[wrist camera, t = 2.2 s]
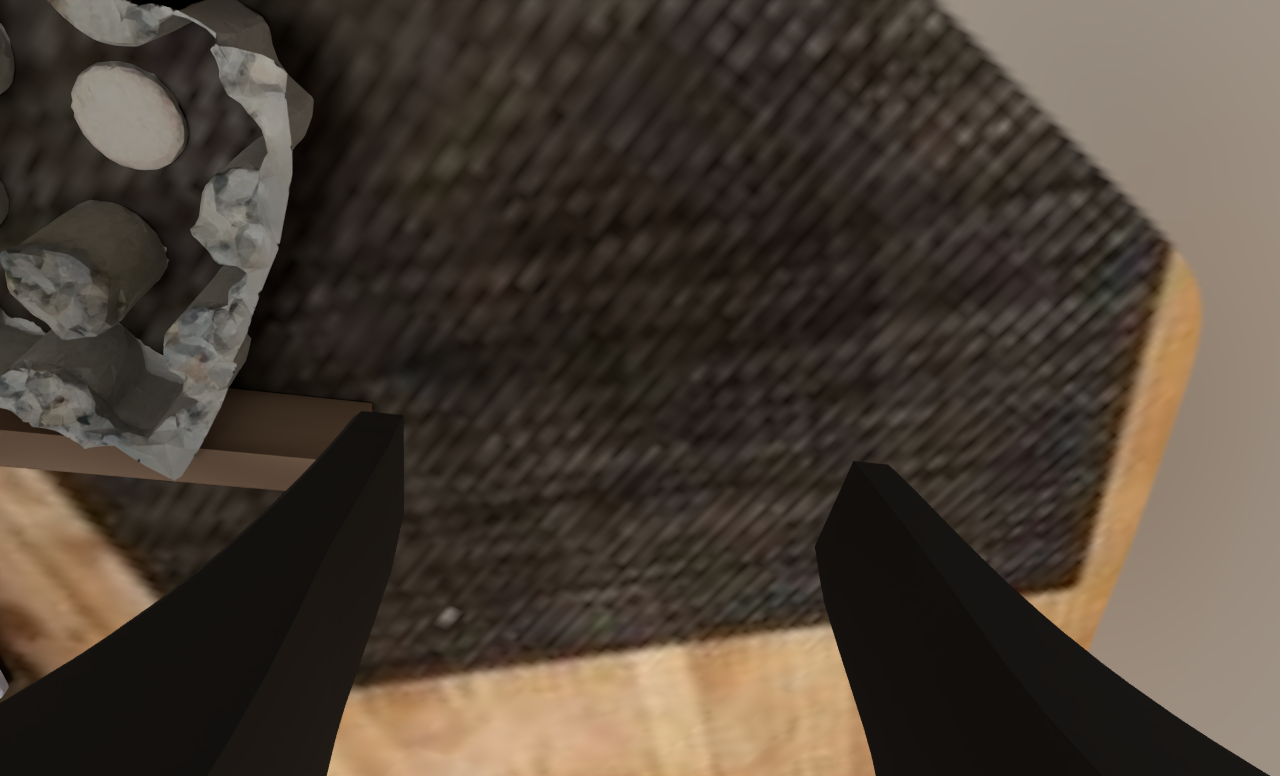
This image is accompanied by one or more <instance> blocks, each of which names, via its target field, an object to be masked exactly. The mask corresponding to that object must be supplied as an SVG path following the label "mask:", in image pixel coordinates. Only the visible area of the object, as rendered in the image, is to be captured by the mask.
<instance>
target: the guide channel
mask: <svg viewBox="0 0 1280 776" xmlns="http://www.w3.org/2000/svg"><path fill="white" fill-rule="evenodd" d="M361 411H366V412H372V403H365V402H356V401H346V400H337V399H327V398H318V397H308V396H299V395H289V394H280V393H270V392H261V391H251V390H242V389H232V388H228V390H227V393H226V396H225V398H224V401H223V403H222V406H221V408H220V410H219V412H218V413H217V415H216V417H215V419H214V421H213V423H212V425H211V427H210V429H209V431H208V433H207V435H206V437H205V439H204V441H203V443H202V444H201V446H200V448H199V450H198V452H197V453H196V455H195V456H194V458H193V459H192V461H191V462H190V464H189V466H188V467H187V469H186V470H185V472H184V473H183V475H182V476H181V477H179V478H178V479H176V480H175V481H178V482H189V483H201V484H212V485H224V486H236V487H247V488H259V489H270V490H282V491H286V490H287V489H288V488H289V487H290V486H291V485H292V484H293V483H294V482H295V481H296V480H297V479H298V478H299V477H300V476H301V475H302V474H303V473H304V472H305V471H306V470H307V469H308V468H309V467H310V466H311V465H312V463H313V462H314V461H315V460H316V459H317V458H318V457H319V456H320V455H321V454H322V453H323V452H324V451H325V449H326V448H327V447H328V446H329V445H330V444H331V443H332V442H333V440H334V439H335V438H336V437H337V436H338V435H339V434H340V432H341V431H342V430H343V429H344V428H345V427H346V425H347V424H348V423H349V422H350V421H351V419H352V418H353V417H354V416H355V415H357V414H358V413H360V412H361ZM0 466H5V467H17V468H28V469H40V470H51V471H63V472H74V473H86V474H97V475H109V476H120V477H132V478H143V479H155V480H166V481H174V480H172V479H170V478H168V477H166V476H164V475H162V474H160V473H158V472H156V471H154V470H152V469H150V468H148V467H146V466H145V465H143V464H141V463H140V462H138V461H136V460H135V459H133V458H132V457H130V456H129V455H127V454H126V453H124V452H123V451H121V450H120V449H119V448H117V447H116V446H99V447H92V448H87V449H84V448H83V447H82V446H81V445H80V444H79V443H77V442H75V441H73V440H71V439H70V438H68V437H66V436H64V435H63V434H61V433H59V432H58V431H55V430H50V429H46V428H38V427H32V426H31V425H30V423H29V422H23V421H22V419H21V418H19V417H18V416H17V415H16V414H15V413H13V412H12V411H10V410H8V409H3V408H0Z"/></svg>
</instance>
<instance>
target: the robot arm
mask: <svg viewBox="0 0 1280 776" xmlns="http://www.w3.org/2000/svg"><path fill="white" fill-rule="evenodd" d="M403 513H404V420H403V415H396V414H386V413H376V412H366V411H361V412H360V413H358V414H357V415H355V416H354V417H353V418H352V419H351V421H350V422H349V423H348V424H347V425H346V427H345V428H344V429H343V430H342V431H341V432H340V434H339V435H338V436H337V437H336V438H335V439H334V440H333V442H332V443H331V444H330V445H329V446H328V447H327V448H326V449H325V451H324V452H323V453H322V454H321V455H320V456H319V457H318V458H317V459H316V460H315V461H314V462H313V463H312V465H311V466H310V467H309V468H308V469H307V470H306V471H305V472H304V473H303V474H302V475H301V476H300V477H299V478H298V479H297V480H296V481H295V482H294V483H293V484H292V485H291V486H290V487H289V488H288V489H287V490H286V491H285V492H284V493H283V494H282V495H281V496H280V497H279V498H278V499H277V500H276V501H275V502H274V503H273V504H272V505H271V506H270V507H269V508H268V509H267V510H266V511H265V512H264V513H263V514H261V515H260V516H259V517H258V518H257V519H256V520H255V521H254V522H253V523H251V524H250V525H249V526H248V527H247V528H246V529H245V530H244V531H243V532H241V533H240V534H239V535H238V536H237V537H236V538H235V539H234V540H233V541H231V542H230V543H229V544H228V545H227V546H226V547H225V548H224V549H222V550H221V551H220V552H219V553H218V554H217V555H215V556H214V557H213V558H212V559H211V560H209V561H208V562H207V563H206V564H205V565H203V566H202V567H201V568H200V569H198V570H197V571H196V572H195V573H193V574H192V575H191V576H190V577H188V578H187V579H186V580H184V581H183V582H182V583H181V584H179V585H178V586H177V587H175V588H174V589H173V590H171V591H170V592H169V593H168V594H166V595H165V596H164V597H162V598H161V599H160V600H158V601H157V602H156V603H154V604H153V605H151V606H150V607H149V608H147V609H146V610H144V611H143V612H141V613H140V614H139V615H137V616H136V617H134V618H133V619H131V620H130V621H129V622H127V623H126V624H124V625H123V626H122V627H120V628H119V629H117V630H116V631H114V632H113V633H112V634H110V635H109V636H107V637H106V638H104V639H103V640H101V641H100V642H98V643H97V644H95V645H94V646H92V647H91V648H89V649H88V650H86V651H85V652H83V653H82V654H80V655H79V656H77V657H75V658H74V659H72V660H71V661H69V662H67V663H66V664H64V665H62V666H61V667H59V668H57V669H56V670H54V671H53V672H51V673H49V674H48V675H46V676H44V677H43V678H41V679H39V680H38V681H36V682H34V683H33V684H31V685H29V686H28V687H26V688H24V689H23V690H21V691H20V692H18V693H16V694H15V695H13V696H11V697H10V698H8V699H6V700H5V701H3V702H1V703H0V776H327V772H328V768H329V764H330V760H331V755H332V751H333V747H334V743H335V739H336V735H337V732H338V728H339V725H340V722H341V718H342V715H343V712H344V708H345V705H346V702H347V699H348V696H349V693H350V690H351V688H352V685H353V682H354V679H355V676H356V673H357V670H358V667H359V664H360V661H361V658H362V656H363V653H364V650H365V647H366V644H367V641H368V638H369V635H370V632H371V629H372V626H373V624H374V621H375V618H376V615H377V612H378V609H379V606H380V603H381V600H382V597H383V594H384V591H385V588H386V585H387V582H388V579H389V576H390V573H391V569H392V565H393V560H394V556H395V551H396V547H397V542H398V537H399V532H400V528H401V523H402V518H403ZM815 550H816V557H817V563H818V570H819V576H820V582H821V587H822V592H823V598H824V603H825V606H826V610H827V613H828V617H829V620H830V623H831V626H832V630H833V633H834V636H835V639H836V643H837V646H838V649H839V652H840V655H841V658H842V661H843V665H844V668H845V671H846V674H847V677H848V680H849V683H850V687H851V690H852V693H853V696H854V699H855V702H856V705H857V708H858V712H859V715H860V718H861V721H862V724H863V727H864V730H865V734H866V738H867V741H868V745H869V749H870V752H871V756H872V760H873V765H874V769H875V774H876V776H1270V775H1268V774H1266V773H1265V772H1263V771H1261V770H1260V769H1258V768H1256V767H1255V766H1253V765H1251V764H1250V763H1248V762H1247V761H1245V760H1243V759H1242V758H1240V757H1239V756H1237V755H1235V754H1234V753H1232V752H1231V751H1229V750H1227V749H1226V748H1224V747H1222V746H1221V745H1219V744H1218V743H1216V742H1214V741H1213V740H1211V739H1210V738H1208V737H1207V736H1205V735H1204V734H1202V733H1200V732H1199V731H1197V730H1196V729H1194V728H1193V727H1191V726H1190V725H1188V724H1187V723H1185V722H1184V721H1182V720H1181V719H1179V718H1178V717H1176V716H1175V715H1173V714H1172V713H1170V712H1169V711H1168V710H1166V709H1165V708H1163V707H1162V706H1161V705H1159V704H1158V703H1156V702H1155V701H1153V700H1152V699H1151V698H1149V697H1148V696H1146V695H1145V694H1144V693H1142V692H1141V691H1139V690H1138V689H1136V688H1135V687H1134V686H1132V685H1131V684H1129V683H1128V682H1126V681H1125V680H1124V679H1122V678H1121V677H1120V676H1119V675H1117V674H1116V673H1115V672H1113V671H1112V670H1111V669H1109V668H1108V667H1107V666H1105V665H1104V664H1103V663H1101V662H1100V661H1099V660H1098V659H1096V658H1095V657H1094V656H1093V655H1091V654H1090V653H1089V652H1088V651H1086V650H1085V649H1084V648H1083V647H1081V646H1080V645H1079V644H1078V643H1076V642H1075V641H1074V640H1073V639H1071V638H1070V637H1069V636H1068V635H1066V634H1065V633H1064V632H1063V631H1061V630H1060V629H1059V628H1058V627H1057V626H1056V625H1054V624H1053V623H1052V622H1051V621H1050V620H1048V619H1047V618H1046V617H1045V616H1044V615H1043V614H1042V613H1040V612H1039V611H1038V610H1037V609H1036V608H1035V607H1034V606H1033V605H1032V604H1030V603H1029V602H1028V601H1027V600H1026V599H1025V598H1024V597H1023V596H1022V595H1020V594H1019V593H1018V592H1017V591H1016V590H1015V589H1014V588H1013V587H1012V586H1011V585H1009V584H1008V583H1007V582H1006V581H1005V580H1004V579H1003V578H1002V577H1001V576H1000V575H999V574H998V573H997V572H996V571H995V570H994V569H993V568H992V567H990V566H989V565H988V564H987V563H986V562H985V561H984V560H983V559H982V558H981V557H980V556H979V555H978V554H977V553H976V552H975V551H974V550H973V549H972V548H971V547H970V546H969V545H968V544H967V543H966V542H965V541H964V540H963V539H962V538H961V537H960V536H959V535H958V534H957V533H956V532H955V531H954V530H953V529H952V528H951V527H950V526H949V525H948V524H947V523H946V522H945V521H944V520H943V519H942V518H941V517H940V515H939V514H938V513H937V512H936V511H935V510H934V509H933V508H932V507H931V506H930V505H929V504H928V503H927V502H926V501H925V500H924V499H923V498H922V497H921V496H920V495H919V494H918V493H917V492H916V491H915V490H914V489H913V488H912V487H911V486H910V485H909V484H908V483H907V482H906V481H905V480H904V479H903V478H902V477H901V476H900V475H899V474H898V473H897V472H896V471H894V470H893V469H892V468H891V467H890V466H889V465H886V464H876V463H866V462H856V461H853V463H852V466H851V468H850V470H849V472H848V474H847V477H846V479H845V481H844V483H843V486H842V488H841V490H840V492H839V494H838V497H837V499H836V501H835V503H834V505H833V508H832V510H831V512H830V514H829V516H828V519H827V521H826V523H825V525H824V527H823V530H822V532H821V534H820V536H819V538H818V541H817V543H816V545H815ZM8 688H9V687H8V683H7V681H6V680H5V678H4V676H3V674H2V672H1V670H0V698H2V696H3V695H4V694H5V692H6V691H7V689H8Z"/></svg>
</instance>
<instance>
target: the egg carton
mask: <svg viewBox="0 0 1280 776" xmlns="http://www.w3.org/2000/svg"><path fill="white" fill-rule="evenodd" d="M47 1H48V2H49V3H50V4H51V5H52V6H53V7H54V8H55V9H56V10H57V11H58V12H59V13H60V14H61V15H62V16H63V17H64V18H65V19H66V20H68V21H69V22H70V23H71V24H72V25H74V26H75V27H76V28H77V29H79V30H80V31H82V32H83V33H84V34H86V35H88V36H89V37H91V38H93V39H94V40H97V41H100V42H103V43H107V44H112V45H117V46H140V45H142V44H145V43H147V42H150V41H152V40H155V39H157V38H160V37H162V36H165V35H167V34H169V33H171V32H173V31H175V30H177V29H180V28H181V27H183V26H185V25H187V24H189V23H191V22H195V23H197V24H199V25H200V26H202V27H204V28H206V29H207V30H208V31H209V32H210V33H211V34H212V35H213V36H214V37H215V38H216V40H215V44H214V46H213V47H212V48H211V49H210V50H211V52H212V53H213V55H214V57H215V58H216V61H217V64H218V67H219V79H220V81H221V83H222V85H223V87H224V89H225V91H226V93H227V94H228V95H229V96H230V97H232V98H233V99H235V100H236V101H238V102H239V103H241V104H242V106H243V107H244V109H245V110H246V111H247V113H248V114H249V115H250V116H251V117H252V118H253V119H254V120H255V121H256V123H257V124H258V125H259V127H260V128H261V129H262V132H263V136H261V137H259V138H258V139H256V140H255V141H254V142H253V143H251V144H250V145H249V146H248V147H247V148H246V149H245V150H243V151H242V152H241V153H240V154H239V155H238V156H236V157H235V158H234V159H233V160H232V161H231V162H230V163H229V164H228V165H226V166H225V167H224V168H223V169H222V170H221V171H220V172H218V173H217V174H216V175H215V176H214V177H213V178H212V179H211V180H210V181H209V182H208V183H207V184H206V186H205V188H204V190H203V192H202V198H201V206H200V214H199V218H198V220H197V222H196V224H195V226H193V227H192V228H191V229H190V231H191V233H192V235H193V237H195V238H196V239H197V240H198V241H199V242H200V243H201V244H202V245H203V246H204V247H205V248H206V249H207V250H208V251H209V253H210V254H211V256H212V258H213V259H214V260H215V261H216V262H217V263H218V264H223V265H224V266H223V267H221V268H220V269H219V271H218V273H217V274H216V275H215V276H214V278H213V279H212V280H211V281H210V282H209V283H208V285H207V286H206V287H205V288H204V289H203V290H202V292H201V293H200V294H199V295H198V296H197V297H196V299H195V300H194V301H193V302H192V303H191V304H190V305H189V307H188V308H187V309H186V310H185V311H184V312H183V313H182V314H181V315H180V317H179V318H178V319H177V320H176V321H175V322H174V324H173V325H172V326H171V327H170V328H169V330H168V331H167V332H166V333H165V336H164V344H163V346H164V349H163V353H164V356H163V355H161V354H159V353H157V352H155V351H154V350H152V349H151V348H150V347H148V346H145V345H143V343H142V342H141V340H139V339H137V338H136V337H134V335H133V334H132V333H130V332H129V331H128V330H127V329H126V328H125V327H123V326H122V325H121V324H120V323H118V322H120V321H121V320H122V319H123V318H124V317H125V315H126V314H127V313H128V312H129V311H130V309H131V308H132V307H133V306H134V305H135V304H136V303H137V302H138V301H139V300H140V299H141V298H142V297H143V296H144V295H145V294H146V293H147V292H148V291H149V290H150V289H151V288H152V286H153V285H154V284H155V283H156V282H157V281H159V280H160V279H161V277H162V275H163V274H164V272H165V270H166V268H167V267H168V266H167V265H168V261H169V259H168V258H167V257H166V250H167V248H166V247H164V246H163V244H162V243H161V241H160V239H159V237H158V235H157V233H156V232H155V231H154V230H153V229H152V228H151V227H150V226H149V225H148V224H147V223H146V222H145V221H144V220H143V219H142V218H141V217H140V216H138V215H137V214H136V213H134V212H132V211H130V210H128V209H127V208H125V207H123V206H121V205H119V204H116V203H112V202H107V201H97V200H88V201H85V202H83V203H80V204H78V205H77V206H75V207H73V208H72V209H70V210H69V211H67V212H66V213H64V214H63V215H61V216H60V217H58V218H57V219H55V220H54V221H52V222H51V223H50V224H48V225H47V226H45V227H44V228H42V229H41V230H39V231H38V232H37V233H35V234H34V235H32V236H31V237H29V238H28V239H26V240H25V241H24V242H22V243H21V244H19V245H17V246H14V247H11V248H8V249H6V250H4V251H2V252H1V253H0V263H1V265H2V267H3V268H4V270H5V274H6V280H7V287H8V289H9V291H10V293H11V295H13V296H14V297H15V298H16V299H17V300H18V301H19V302H20V303H21V304H22V305H23V306H24V307H25V308H26V309H28V310H29V311H30V312H31V313H32V314H33V315H34V316H36V317H38V318H40V319H41V320H43V321H44V322H46V323H47V324H48V325H49V326H50V327H51V330H50V331H49V332H47V333H44V332H43V331H42V330H41V327H38V326H37V325H36V324H34V322H29V321H28V320H26V319H22V318H17V317H16V318H10V317H8V316H7V315H6V314H5V312H4V311H3V310H2V309H1V307H0V408H3V409H8V410H10V411H12V412H13V413H15V414H16V415H17V416H18V417H19V418H21V419H22V421H23V422H29V423H30V425H31V426H32V427H38V428H46V429H50V430H55V431H58V432H59V433H61V434H63V435H64V436H66V437H68V438H70V439H71V440H73V441H75V442H77V443H79V444H80V445H81V446H82V447H83V448H84V449H87V448H92V447H99V446H116V447H117V448H119V449H120V450H121V451H123V452H124V453H126V454H127V455H129V456H130V457H132V458H133V459H135V460H136V461H138V462H140V463H141V464H143V465H145V466H146V467H148V468H150V469H152V470H154V471H156V472H158V473H160V474H162V475H164V476H166V477H168V478H170V479H172V480H174V481H175V480H176V479H178V478H179V477H181V476H182V475H183V473H184V472H185V470H186V469H187V467H188V466H189V464H190V462H191V461H192V459H193V458H194V456H195V455H196V453H197V452H198V450H199V448H200V446H201V444H202V443H203V441H204V439H205V437H206V435H207V433H208V431H209V429H210V427H211V425H212V423H213V421H214V419H215V417H216V415H217V413H218V412H219V410H220V408H221V406H222V403H223V401H224V398H225V396H226V393H227V390H228V387H229V386H230V385H231V383H232V382H233V380H234V379H235V377H236V375H237V373H238V372H239V370H240V369H241V368H242V366H243V365H244V363H245V361H246V359H247V355H248V351H249V347H250V343H251V337H250V336H249V335H248V334H247V332H248V329H249V326H250V323H251V319H252V316H253V313H254V310H255V307H256V305H257V302H258V299H259V296H260V293H261V291H262V288H263V286H264V283H265V281H266V278H267V276H268V273H269V271H270V268H271V266H272V263H273V261H274V259H275V256H276V254H277V251H278V249H279V244H280V239H281V234H282V228H283V223H284V218H285V212H286V207H287V202H288V196H289V190H290V184H291V179H292V150H293V149H294V148H295V146H296V145H297V144H298V143H299V142H300V141H301V140H302V139H303V138H304V136H305V135H306V132H307V129H308V127H309V124H310V121H311V119H312V114H313V104H314V100H313V98H312V96H311V95H310V94H308V93H307V92H306V91H305V90H304V89H303V88H302V87H301V86H300V85H299V84H298V83H296V82H295V81H294V80H293V79H292V78H291V77H290V76H289V75H288V74H287V72H286V71H285V69H284V68H283V67H282V65H281V64H280V62H279V61H278V58H277V55H276V53H275V50H274V47H273V45H272V39H271V33H270V29H269V26H268V25H267V23H266V22H265V20H264V19H263V17H262V16H261V15H259V14H257V13H255V12H254V11H252V10H250V9H249V8H247V7H245V6H244V5H243V4H241V3H240V2H239V1H237V0H204V1H201V2H198V3H194V4H191V5H189V6H188V7H186V8H184V9H181V10H176V9H172V8H169V7H166V6H162V5H159V4H145V5H136V4H131V0H47ZM14 70H15V66H14V56H13V53H12V50H11V45H10V39H9V37H8V35H7V33H6V32H5V29H4V27H3V26H2V24H1V23H0V94H2V93H3V92H4V91H6V90H7V89H8V88H9V87H10V85H11V84H12V82H13V78H14ZM167 80H168V79H167ZM170 85H171V84H170ZM173 90H174V89H173ZM71 95H72V100H73V102H72V105H71V108H72V109H73V111H74V118H75V119H76V121H77V123H78V125H79V127H80V128H81V130H82V132H83V134H84V135H85V136H86V138H87V139H88V140H89V141H90V142H91V143H92V145H93V146H94V147H96V148H97V149H98V150H99V151H100V152H102V153H103V154H104V155H105V156H106V157H107V158H109V159H111V160H113V161H114V162H116V163H118V164H120V165H122V166H126V167H130V168H134V169H138V170H156V169H160V168H162V167H164V166H166V165H168V164H171V163H172V162H174V161H175V160H176V159H177V158H178V157H179V155H180V154H181V153H182V152H183V150H184V149H185V147H186V143H187V139H188V128H187V123H186V120H185V118H184V115H183V113H182V111H181V110H180V108H179V105H178V101H177V99H176V98H175V97H174V95H173V94H172V93H171V91H170V90H169V89H168V88H167V87H166V86H165V85H164V84H163V83H162V82H161V81H160V80H159V79H158V78H157V77H156V76H155V75H154V74H152V73H150V72H148V71H146V70H144V69H142V68H140V67H137V66H135V65H133V64H129V63H125V62H121V61H109V62H99V63H95V64H94V65H92V66H90V67H89V68H87V69H86V70H84V71H82V72H81V74H80V75H79V76H78V77H77V80H76V82H75V84H74V87H73V90H72V93H71ZM176 95H177V94H176ZM8 213H9V198H8V196H7V193H6V191H5V187H4V185H3V184H2V182H1V180H0V225H1V224H2V222H3V221H4V219H5V218H6V216H7V214H8Z"/></svg>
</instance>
